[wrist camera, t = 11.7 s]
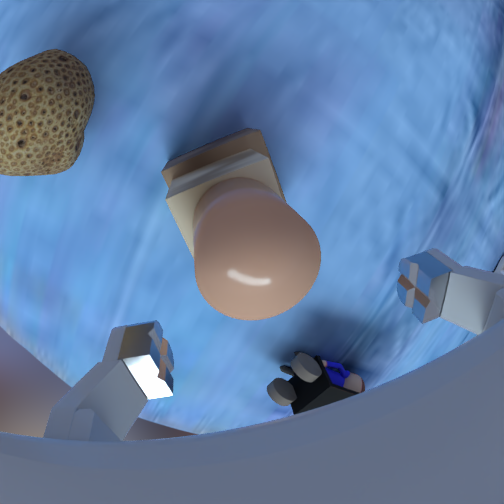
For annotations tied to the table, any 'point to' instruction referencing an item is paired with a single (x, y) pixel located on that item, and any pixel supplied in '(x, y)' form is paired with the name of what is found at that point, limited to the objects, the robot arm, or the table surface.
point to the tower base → (218, 154)
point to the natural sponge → (43, 113)
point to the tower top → (200, 180)
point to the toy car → (313, 384)
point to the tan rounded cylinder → (252, 250)
